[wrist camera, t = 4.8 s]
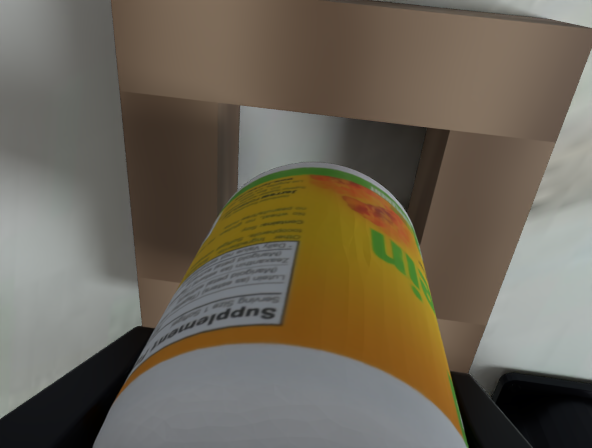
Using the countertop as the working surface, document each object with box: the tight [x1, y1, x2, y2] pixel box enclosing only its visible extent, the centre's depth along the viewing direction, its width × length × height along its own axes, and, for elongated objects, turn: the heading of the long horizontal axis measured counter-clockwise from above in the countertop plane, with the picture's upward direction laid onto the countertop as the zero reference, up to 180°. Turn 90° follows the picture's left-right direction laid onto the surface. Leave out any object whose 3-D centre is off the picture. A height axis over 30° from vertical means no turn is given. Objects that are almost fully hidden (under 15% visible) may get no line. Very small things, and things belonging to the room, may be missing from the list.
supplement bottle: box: [93, 162, 469, 448], centre depth 8 cm, size 5×5×10 cm
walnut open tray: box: [111, 0, 592, 374], centre depth 15 cm, size 12×12×3 cm
